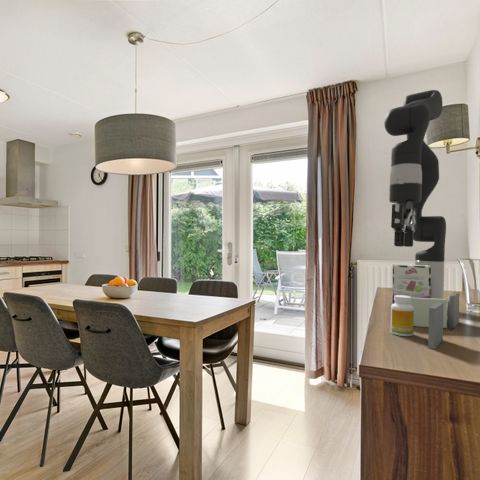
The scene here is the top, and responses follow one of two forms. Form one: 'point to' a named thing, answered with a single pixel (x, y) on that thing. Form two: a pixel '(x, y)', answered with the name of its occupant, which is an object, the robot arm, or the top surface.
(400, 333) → the supplement bottle
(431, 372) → the top surface
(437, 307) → the door frame
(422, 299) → the door
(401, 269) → the candy bar box
